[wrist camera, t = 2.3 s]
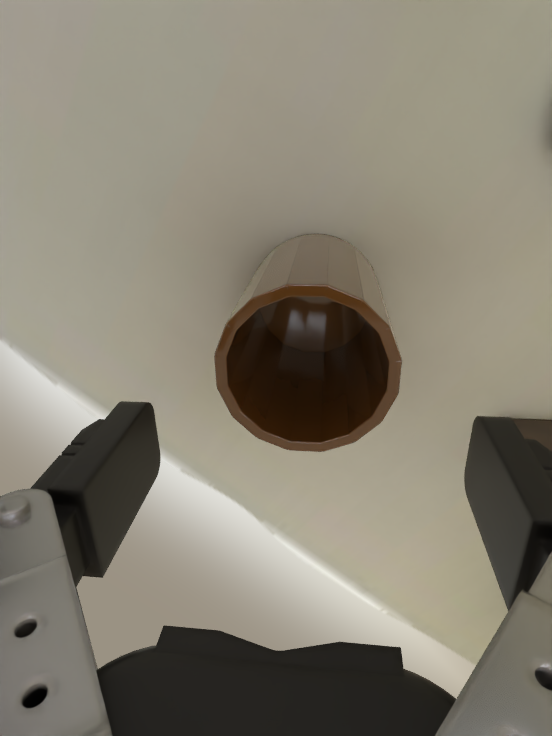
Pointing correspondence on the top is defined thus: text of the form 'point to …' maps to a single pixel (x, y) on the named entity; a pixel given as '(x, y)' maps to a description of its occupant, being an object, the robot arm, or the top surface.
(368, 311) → the brown cup
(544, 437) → the gate
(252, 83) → the top surface
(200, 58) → the top surface
